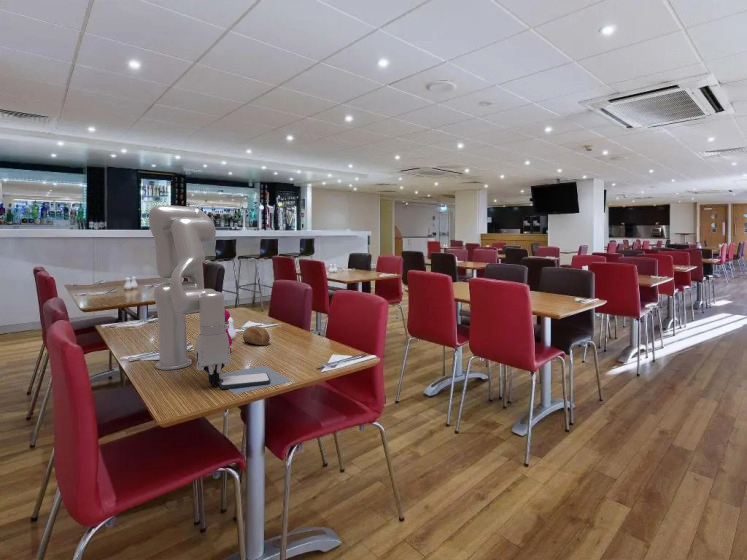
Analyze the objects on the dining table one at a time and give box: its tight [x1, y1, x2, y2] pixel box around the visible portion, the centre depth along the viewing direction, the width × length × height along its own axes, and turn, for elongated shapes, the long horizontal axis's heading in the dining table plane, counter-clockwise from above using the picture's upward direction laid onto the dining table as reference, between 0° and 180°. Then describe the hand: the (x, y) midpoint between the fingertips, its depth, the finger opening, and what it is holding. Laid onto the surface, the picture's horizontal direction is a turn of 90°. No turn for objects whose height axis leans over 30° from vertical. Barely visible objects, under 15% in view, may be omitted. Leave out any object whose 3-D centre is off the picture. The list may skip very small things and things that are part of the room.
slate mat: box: [219, 365, 292, 395], centre depth 147 cm, size 22×20×1 cm
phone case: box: [218, 373, 270, 390], centre depth 142 cm, size 9×2×16 cm
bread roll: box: [242, 325, 271, 346], centre depth 194 cm, size 10×15×8 cm, turn 53°
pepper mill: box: [224, 309, 233, 354], centre depth 178 cm, size 7×7×20 cm
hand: (214, 384), depth 139 cm, fingers closed
